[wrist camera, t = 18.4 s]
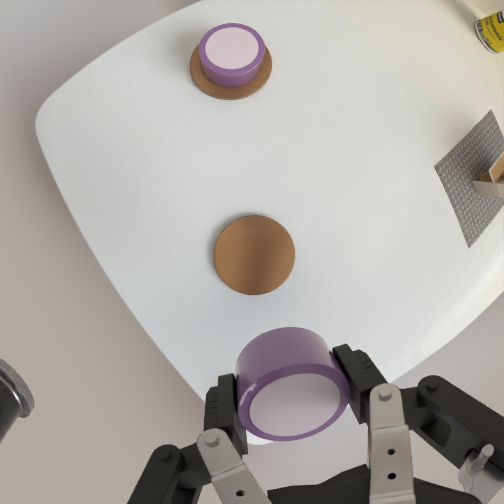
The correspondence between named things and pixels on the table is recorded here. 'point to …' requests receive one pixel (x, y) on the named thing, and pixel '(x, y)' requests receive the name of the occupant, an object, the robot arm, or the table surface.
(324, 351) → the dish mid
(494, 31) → the supplement bottle
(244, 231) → the brown wooden coaster
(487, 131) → the architectural model
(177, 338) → the table surface
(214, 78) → the purple short cylinder
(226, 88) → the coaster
